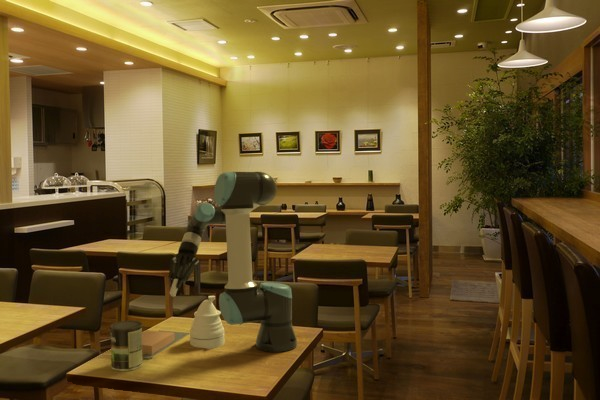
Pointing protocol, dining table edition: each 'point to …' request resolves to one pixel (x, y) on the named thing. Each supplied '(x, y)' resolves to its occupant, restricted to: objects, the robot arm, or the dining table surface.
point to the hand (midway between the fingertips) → (172, 294)
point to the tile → (155, 341)
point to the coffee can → (126, 345)
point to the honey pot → (207, 326)
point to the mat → (176, 338)
